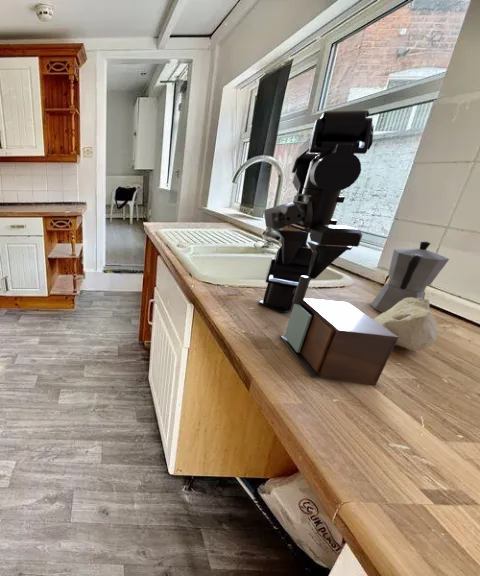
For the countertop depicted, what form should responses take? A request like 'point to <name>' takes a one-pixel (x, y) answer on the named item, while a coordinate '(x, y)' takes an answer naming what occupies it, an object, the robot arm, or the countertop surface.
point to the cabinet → (343, 343)
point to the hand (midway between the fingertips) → (297, 270)
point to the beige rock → (410, 323)
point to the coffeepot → (409, 275)
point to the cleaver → (298, 316)
